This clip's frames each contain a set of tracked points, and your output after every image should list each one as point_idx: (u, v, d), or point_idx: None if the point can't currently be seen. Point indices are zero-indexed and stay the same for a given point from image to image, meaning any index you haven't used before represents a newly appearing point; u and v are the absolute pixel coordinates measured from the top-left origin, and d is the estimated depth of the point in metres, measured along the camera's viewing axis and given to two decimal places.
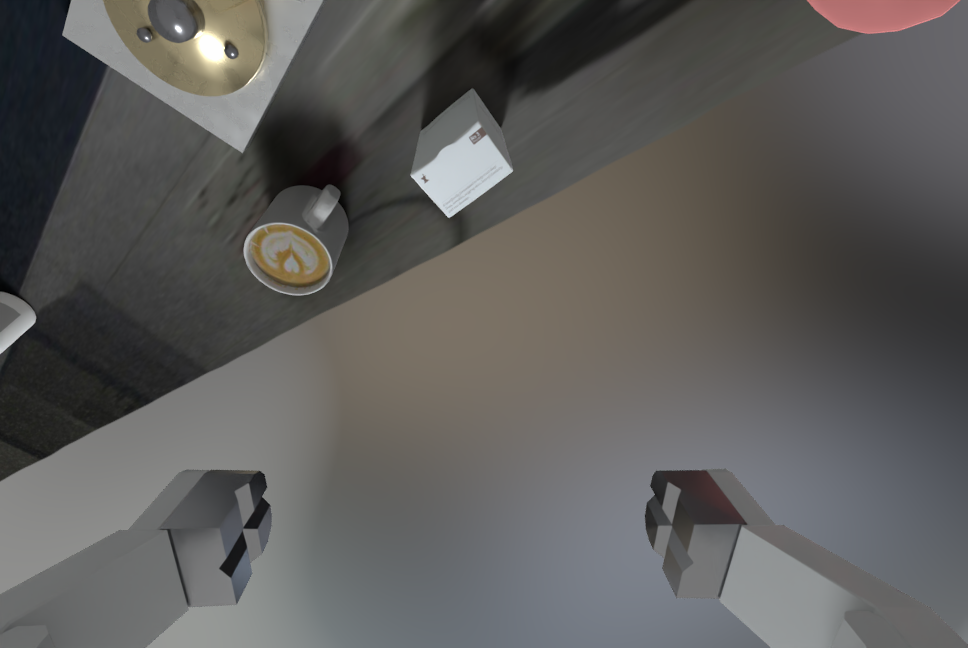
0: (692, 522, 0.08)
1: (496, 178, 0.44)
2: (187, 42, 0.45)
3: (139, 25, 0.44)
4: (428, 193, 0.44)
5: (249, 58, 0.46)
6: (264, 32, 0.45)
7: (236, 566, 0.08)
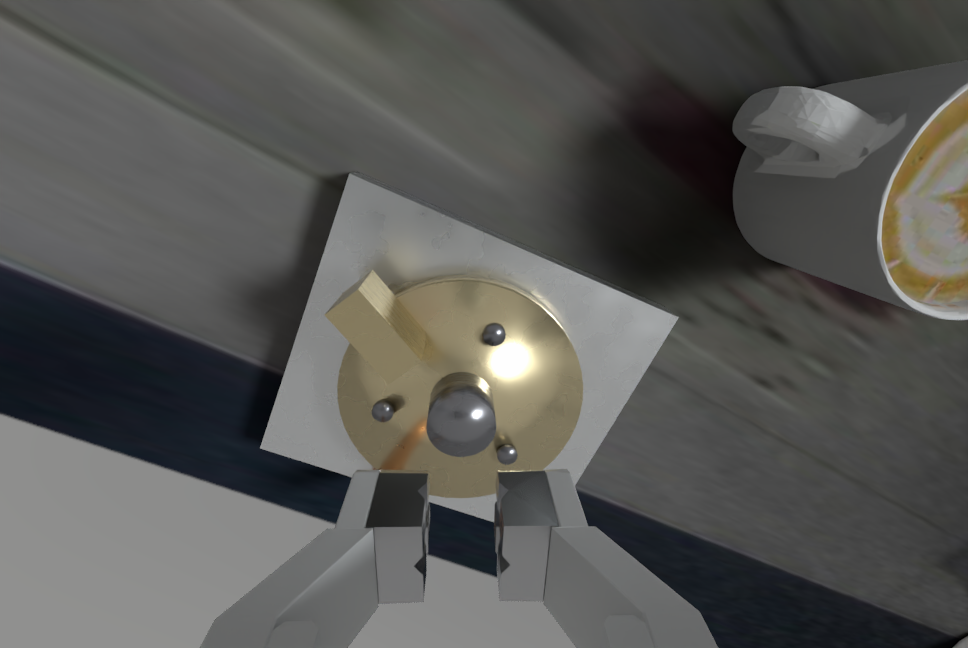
0: (503, 524, 0.08)
1: None
2: (500, 398, 0.26)
3: (496, 458, 0.28)
4: None
5: (497, 304, 0.24)
6: (447, 280, 0.24)
7: (422, 564, 0.08)
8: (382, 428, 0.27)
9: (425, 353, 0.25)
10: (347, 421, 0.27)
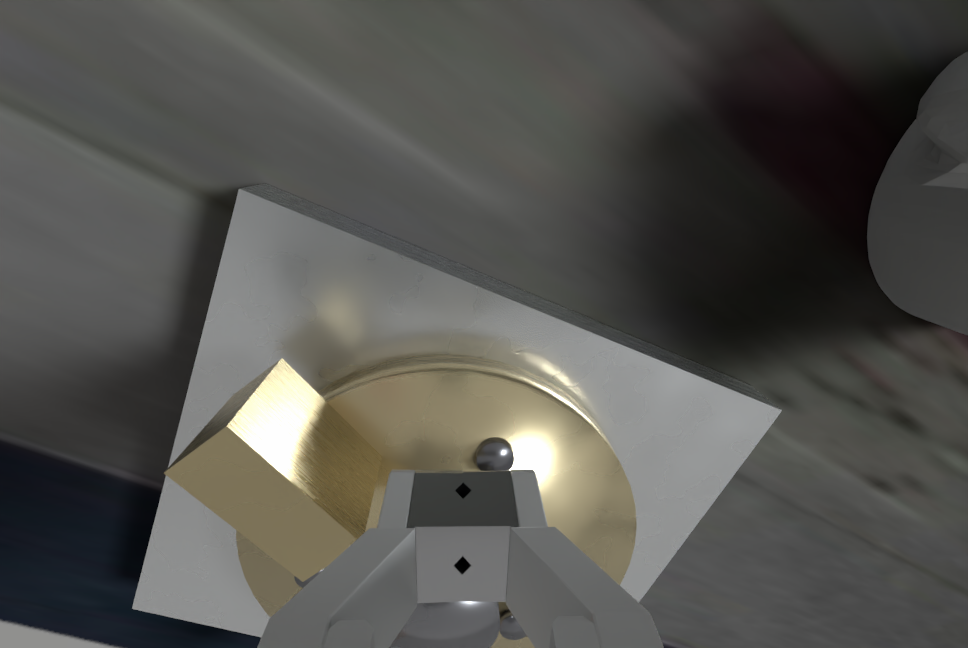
0: (462, 524, 0.08)
1: None
2: None
3: None
4: None
5: (500, 410, 0.14)
6: (415, 369, 0.14)
7: None
8: None
9: (381, 486, 0.15)
10: (258, 587, 0.16)
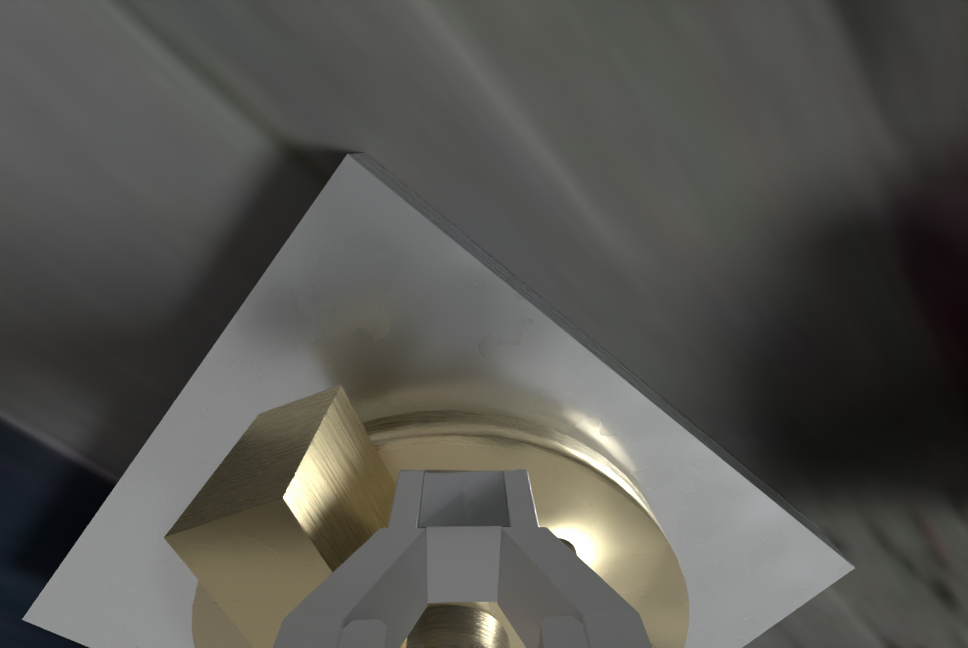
0: (454, 524, 0.08)
1: None
2: None
3: None
4: None
5: (580, 509, 0.12)
6: (494, 435, 0.11)
7: None
8: None
9: None
10: (204, 644, 0.13)
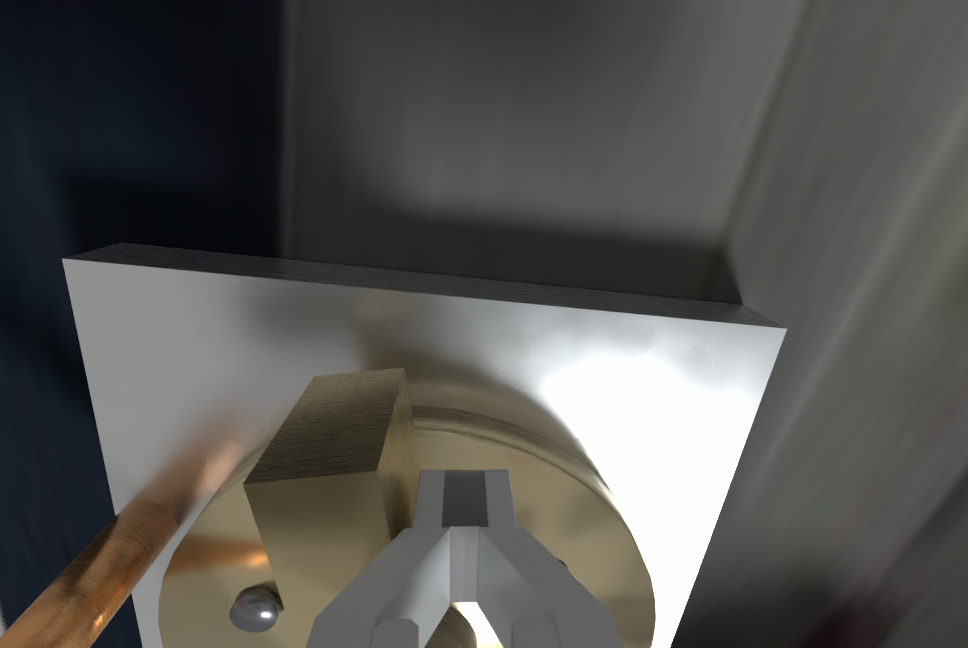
0: (432, 524, 0.08)
1: None
2: None
3: None
4: None
5: (585, 536, 0.12)
6: (526, 449, 0.12)
7: None
8: (236, 629, 0.13)
9: None
10: (171, 593, 0.12)
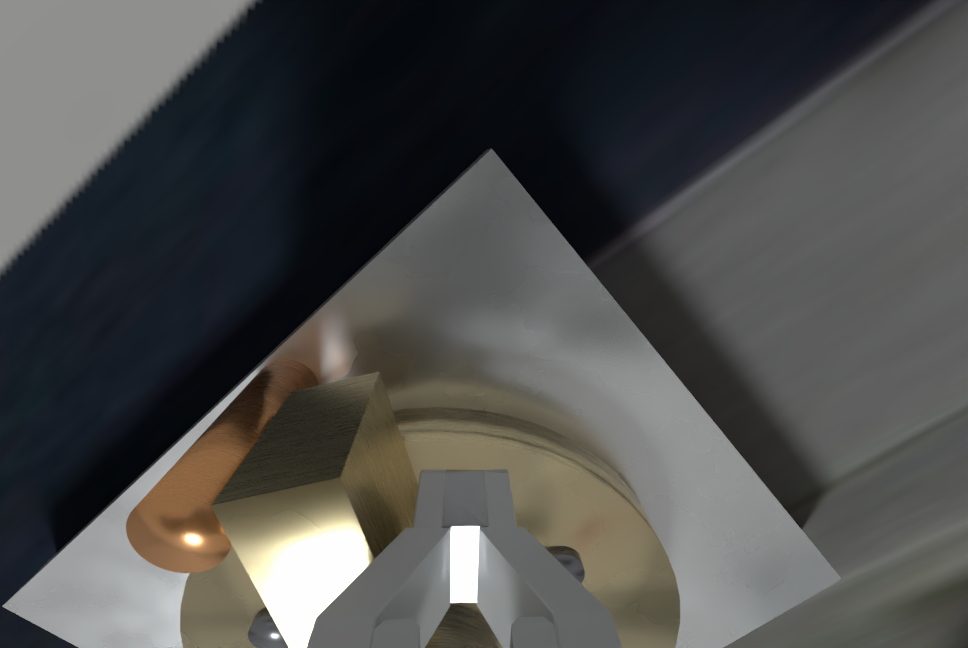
0: (431, 524, 0.08)
1: None
2: None
3: None
4: None
5: (592, 520, 0.12)
6: (518, 439, 0.11)
7: None
8: None
9: None
10: (191, 621, 0.12)
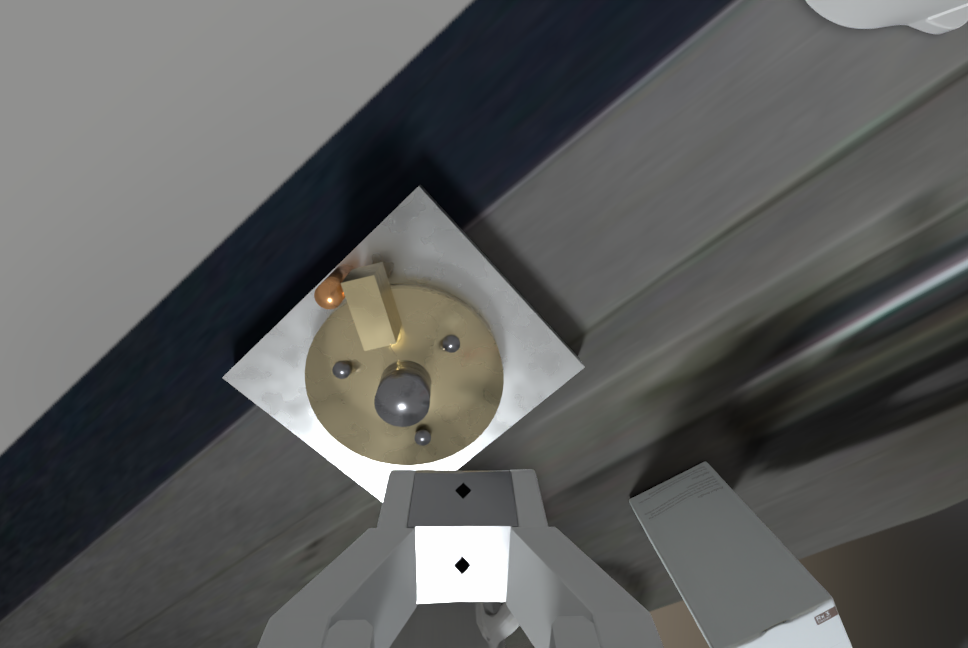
0: (462, 524, 0.08)
1: None
2: (435, 392, 0.33)
3: (413, 438, 0.34)
4: None
5: (462, 323, 0.32)
6: (433, 291, 0.31)
7: None
8: (334, 383, 0.32)
9: None
10: (309, 367, 0.32)
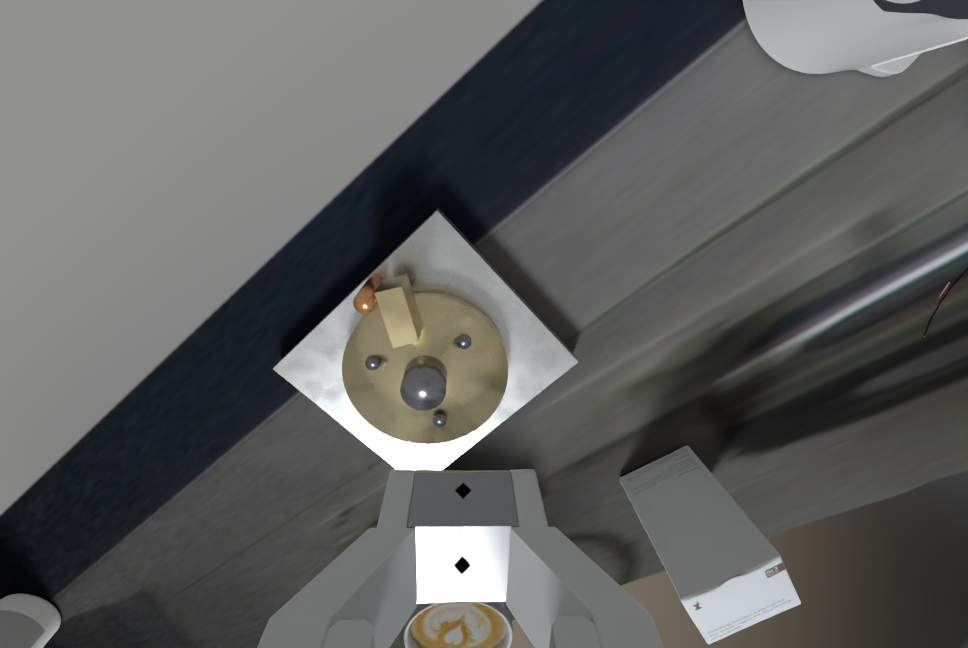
0: (463, 524, 0.08)
1: (780, 610, 0.36)
2: (450, 382, 0.39)
3: (431, 420, 0.41)
4: (695, 619, 0.35)
5: (473, 324, 0.38)
6: (449, 297, 0.37)
7: None
8: (366, 373, 0.39)
9: None
10: (345, 361, 0.38)
